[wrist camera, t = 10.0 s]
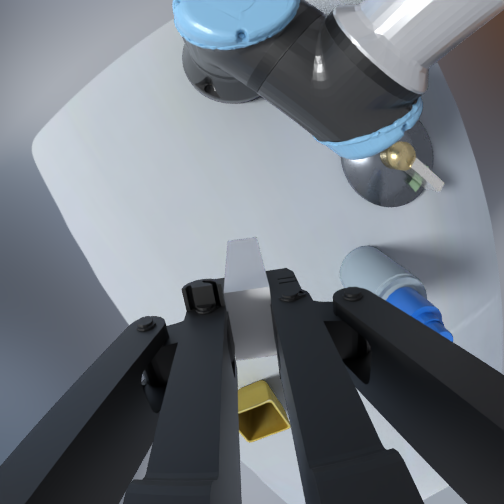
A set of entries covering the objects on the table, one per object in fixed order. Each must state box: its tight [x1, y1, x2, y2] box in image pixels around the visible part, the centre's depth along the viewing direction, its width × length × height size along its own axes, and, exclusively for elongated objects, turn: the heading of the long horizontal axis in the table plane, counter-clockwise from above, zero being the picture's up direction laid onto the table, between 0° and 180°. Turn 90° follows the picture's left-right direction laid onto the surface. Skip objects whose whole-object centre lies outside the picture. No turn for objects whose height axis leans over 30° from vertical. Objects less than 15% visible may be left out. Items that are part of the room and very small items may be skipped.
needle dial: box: [380, 142, 445, 192], centre depth 45 cm, size 11×4×5 cm, turn 60°
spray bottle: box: [340, 246, 453, 342], centre depth 42 cm, size 9×9×25 cm
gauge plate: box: [341, 120, 433, 207], centre depth 48 cm, size 17×17×1 cm
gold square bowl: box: [238, 380, 291, 443], centre depth 56 cm, size 9×9×9 cm
